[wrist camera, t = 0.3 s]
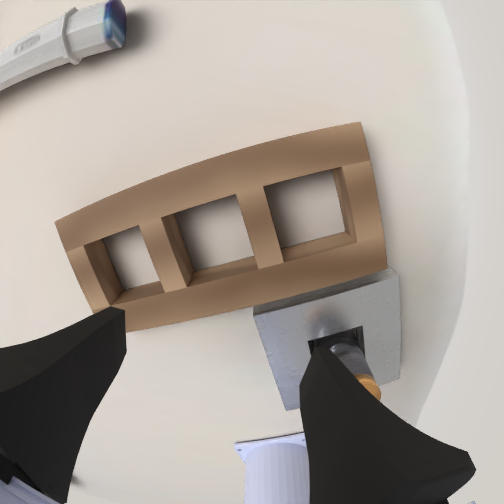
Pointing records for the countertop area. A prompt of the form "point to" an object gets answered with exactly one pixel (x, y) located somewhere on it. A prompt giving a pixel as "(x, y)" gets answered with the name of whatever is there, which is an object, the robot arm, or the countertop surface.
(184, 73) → the countertop surface
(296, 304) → the socket block
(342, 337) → the steel peg
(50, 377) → the robot arm
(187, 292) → the rack
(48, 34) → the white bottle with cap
